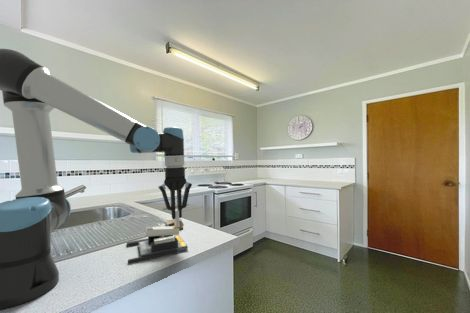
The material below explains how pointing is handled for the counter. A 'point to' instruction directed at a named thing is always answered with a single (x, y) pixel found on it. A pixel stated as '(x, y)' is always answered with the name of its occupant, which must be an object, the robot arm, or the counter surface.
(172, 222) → the stone
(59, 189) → the robot arm
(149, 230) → the breaker lever
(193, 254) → the counter surface
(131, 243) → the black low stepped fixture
